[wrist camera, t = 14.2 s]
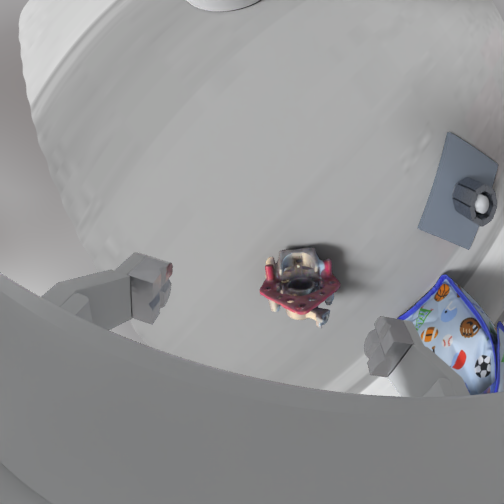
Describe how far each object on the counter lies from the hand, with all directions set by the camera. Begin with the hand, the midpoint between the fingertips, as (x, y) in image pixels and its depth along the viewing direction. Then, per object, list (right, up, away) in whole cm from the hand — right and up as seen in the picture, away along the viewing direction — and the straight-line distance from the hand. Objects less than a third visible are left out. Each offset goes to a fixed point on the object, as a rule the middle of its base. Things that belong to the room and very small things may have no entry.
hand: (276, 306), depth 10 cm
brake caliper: (+6, -1, +32) cm, 33 cm away
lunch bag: (+38, -11, +33) cm, 51 cm away
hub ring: (+32, +10, +21) cm, 40 cm away
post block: (+32, +11, +23) cm, 41 cm away
